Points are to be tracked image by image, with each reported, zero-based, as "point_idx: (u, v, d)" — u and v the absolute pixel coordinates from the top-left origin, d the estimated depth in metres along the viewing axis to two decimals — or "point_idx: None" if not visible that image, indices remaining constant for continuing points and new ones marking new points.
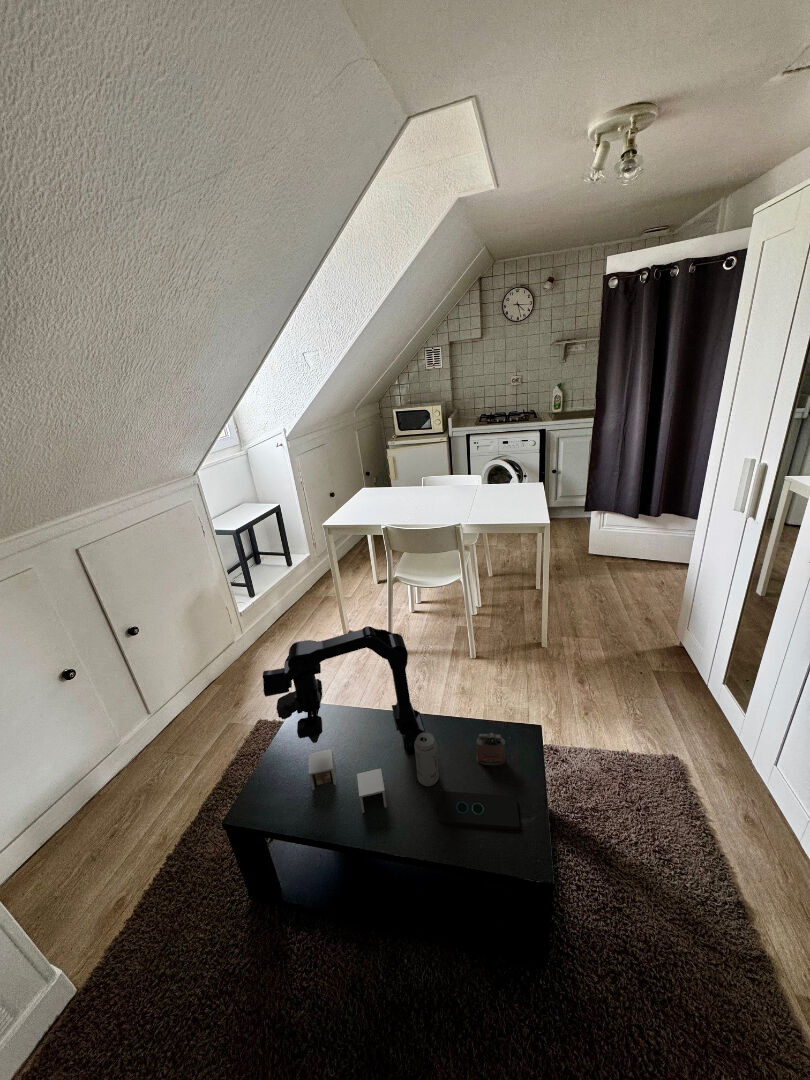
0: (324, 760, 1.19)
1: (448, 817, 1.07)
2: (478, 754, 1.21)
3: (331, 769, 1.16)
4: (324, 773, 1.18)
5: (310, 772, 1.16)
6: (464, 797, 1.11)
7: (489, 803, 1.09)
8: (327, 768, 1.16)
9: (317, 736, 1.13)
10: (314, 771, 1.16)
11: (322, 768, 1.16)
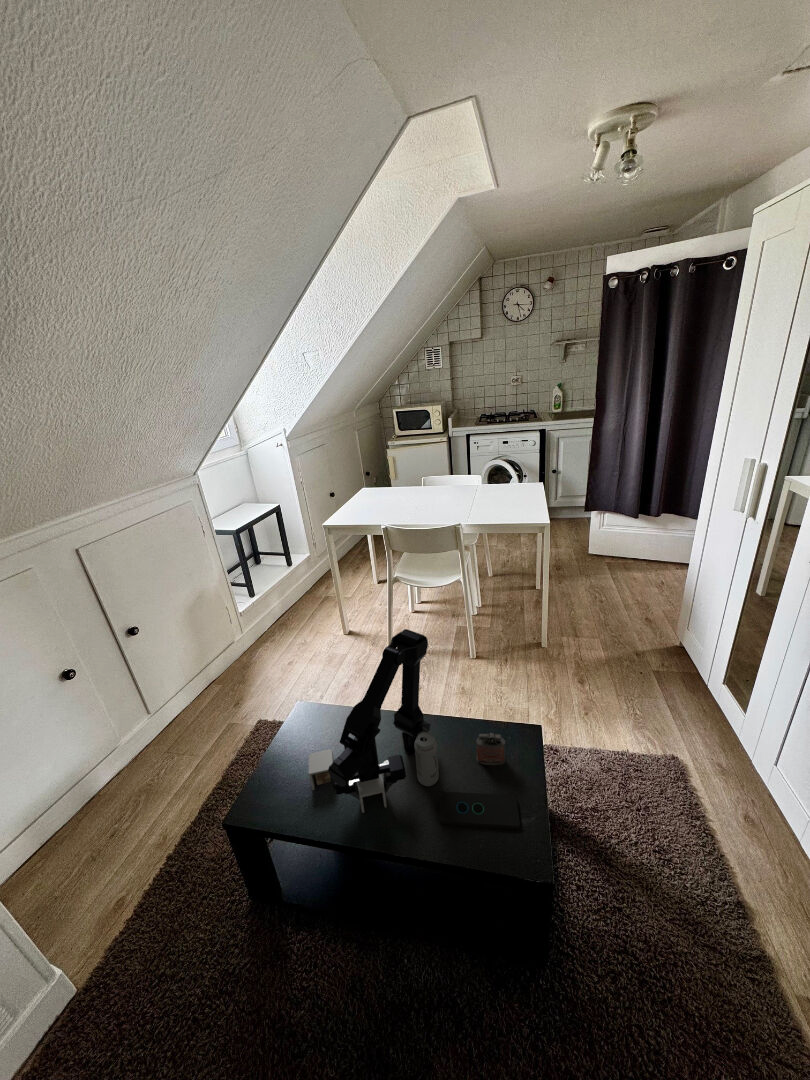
0: (324, 760, 1.19)
1: (448, 818, 1.07)
2: (478, 754, 1.21)
3: None
4: (324, 773, 1.18)
5: (310, 772, 1.16)
6: (464, 797, 1.11)
7: (489, 803, 1.09)
8: (327, 768, 1.16)
9: None
10: (314, 771, 1.16)
11: (322, 768, 1.16)
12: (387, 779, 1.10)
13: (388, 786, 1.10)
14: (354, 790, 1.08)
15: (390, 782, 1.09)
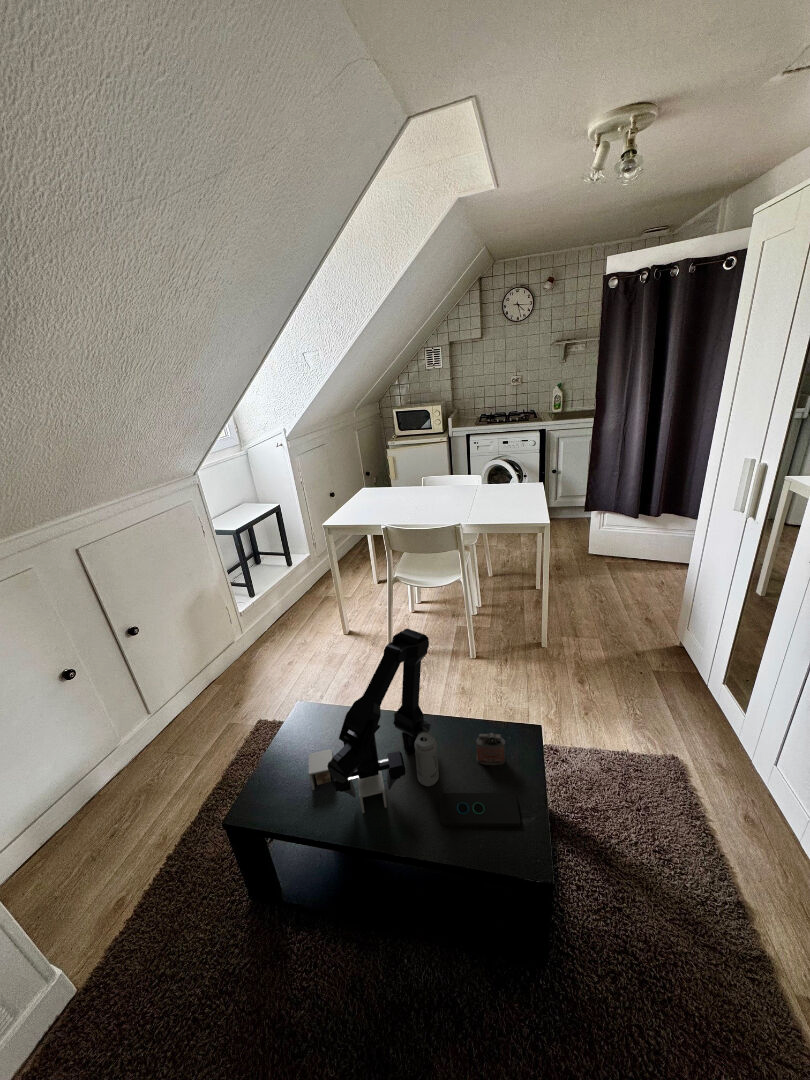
0: (324, 760, 1.19)
1: (449, 819, 1.06)
2: (478, 754, 1.21)
3: None
4: (324, 773, 1.18)
5: (310, 772, 1.16)
6: (464, 798, 1.11)
7: (489, 802, 1.10)
8: (327, 768, 1.16)
9: None
10: (314, 771, 1.16)
11: (322, 768, 1.16)
12: (391, 775, 1.10)
13: (392, 782, 1.10)
14: (349, 788, 1.07)
15: (394, 778, 1.09)
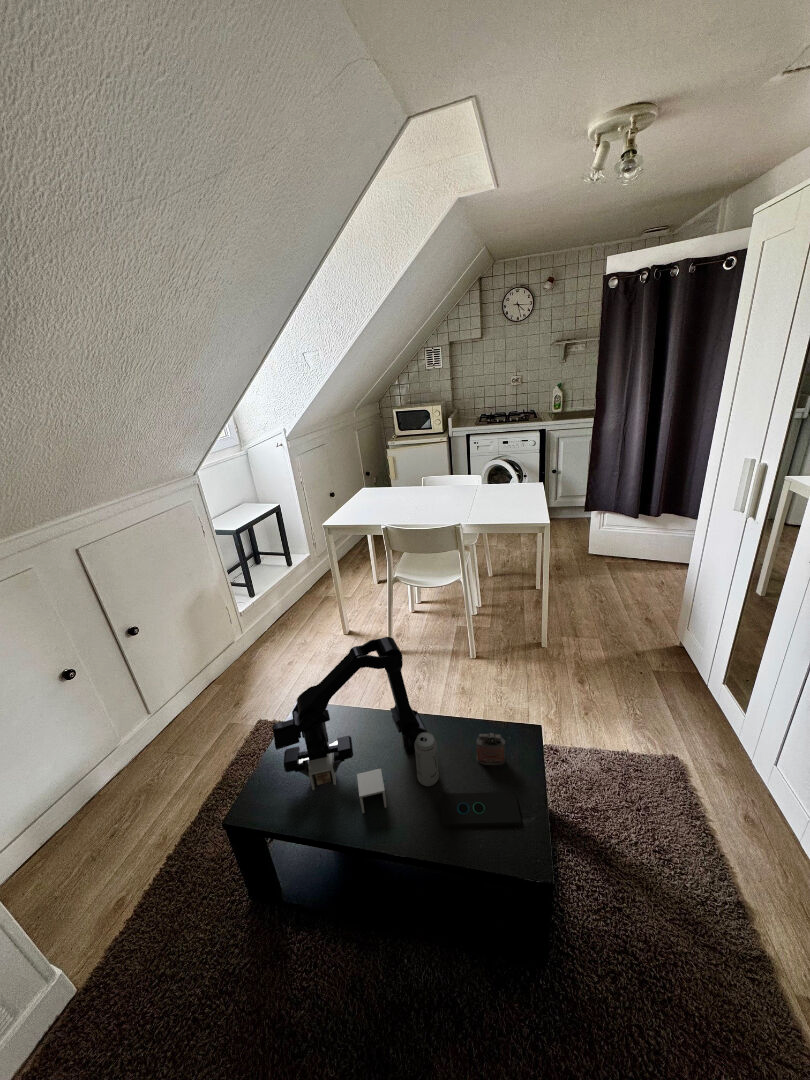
0: (324, 760, 1.19)
1: (450, 819, 1.06)
2: (478, 754, 1.21)
3: (331, 769, 1.16)
4: (324, 773, 1.18)
5: (310, 772, 1.16)
6: (464, 798, 1.11)
7: (489, 801, 1.10)
8: (327, 768, 1.16)
9: None
10: (314, 771, 1.16)
11: (322, 768, 1.16)
12: (335, 758, 1.17)
13: (336, 765, 1.17)
14: (304, 768, 1.15)
15: (338, 761, 1.16)
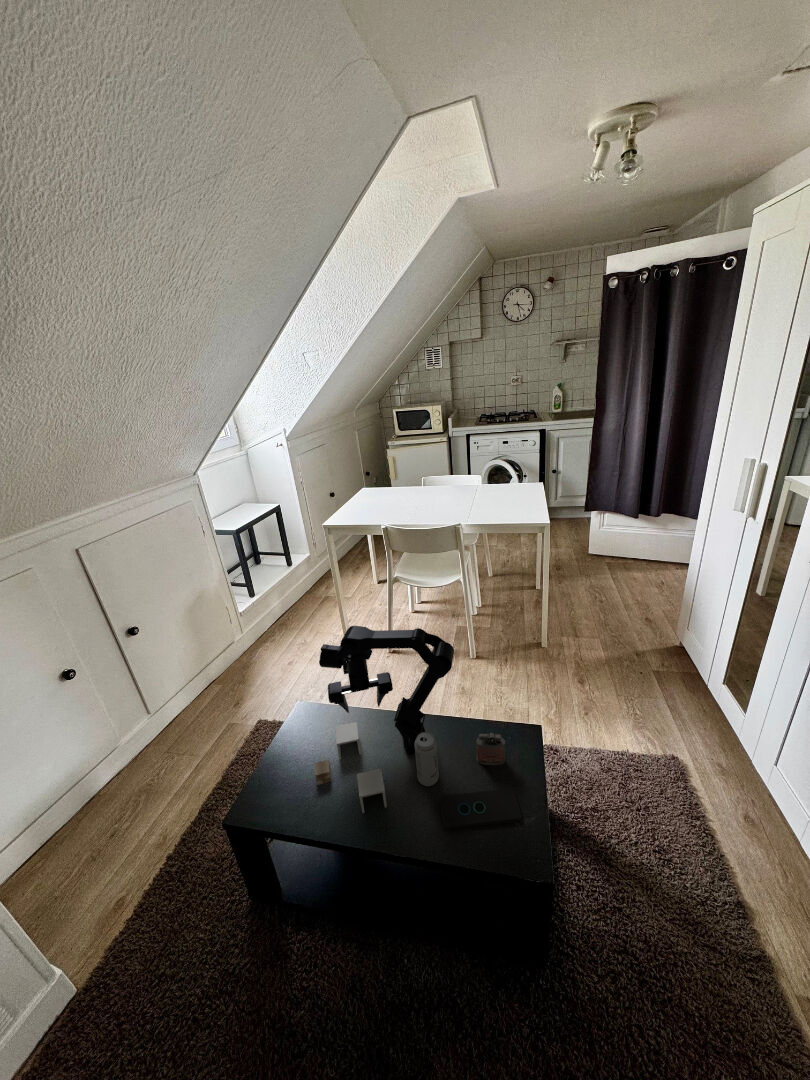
0: (350, 732, 1.27)
1: (452, 821, 1.06)
2: (478, 754, 1.21)
3: (357, 740, 1.25)
4: (324, 773, 1.18)
5: (338, 742, 1.24)
6: (464, 798, 1.11)
7: (489, 800, 1.10)
8: (353, 739, 1.25)
9: None
10: (341, 741, 1.24)
11: (349, 739, 1.25)
12: (380, 691, 1.24)
13: (381, 697, 1.24)
14: (343, 701, 1.22)
15: (382, 693, 1.23)
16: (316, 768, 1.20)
